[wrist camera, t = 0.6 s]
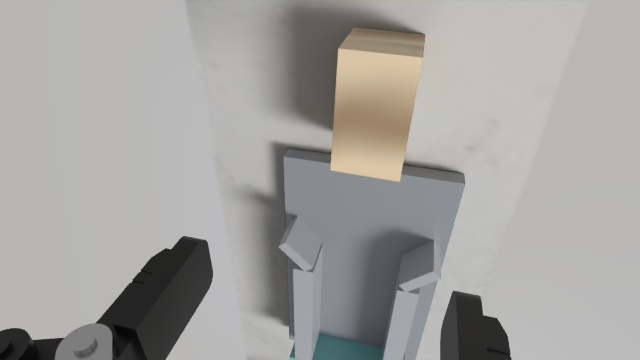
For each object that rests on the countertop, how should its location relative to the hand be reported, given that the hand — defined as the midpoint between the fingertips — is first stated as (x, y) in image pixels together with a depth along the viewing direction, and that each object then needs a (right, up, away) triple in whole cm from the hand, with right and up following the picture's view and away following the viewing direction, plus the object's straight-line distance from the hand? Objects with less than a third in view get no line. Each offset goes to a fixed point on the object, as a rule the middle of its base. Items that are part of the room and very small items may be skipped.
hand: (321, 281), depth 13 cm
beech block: (+4, +9, +11) cm, 15 cm away
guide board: (+3, -4, +20) cm, 21 cm away
